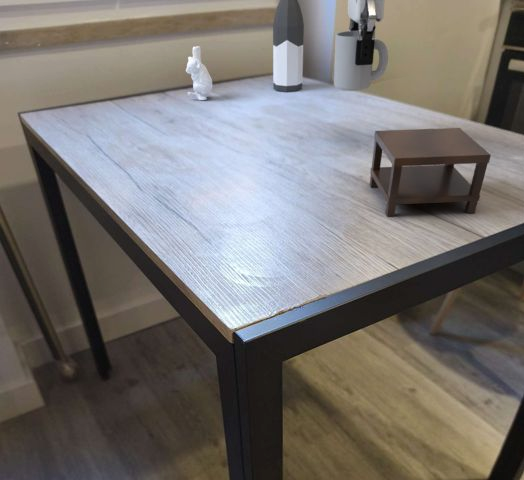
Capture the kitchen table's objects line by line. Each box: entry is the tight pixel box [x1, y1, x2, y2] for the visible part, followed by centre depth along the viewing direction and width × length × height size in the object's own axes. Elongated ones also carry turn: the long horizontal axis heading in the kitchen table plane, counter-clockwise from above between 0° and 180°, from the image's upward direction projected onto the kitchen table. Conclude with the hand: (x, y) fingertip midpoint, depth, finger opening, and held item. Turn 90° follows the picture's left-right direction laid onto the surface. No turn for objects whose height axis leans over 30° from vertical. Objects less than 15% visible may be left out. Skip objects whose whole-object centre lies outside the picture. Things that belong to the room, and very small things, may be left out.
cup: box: [333, 30, 389, 92], centre depth 97 cm, size 7×10×9 cm
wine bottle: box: [272, 0, 305, 93], centre depth 133 cm, size 8×8×30 cm
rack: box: [369, 127, 492, 217], centre depth 81 cm, size 14×13×9 cm
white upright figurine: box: [185, 45, 213, 101], centre depth 132 cm, size 8×7×12 cm
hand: (359, 59), depth 97 cm, fingers closed on cup, 7 cm apart
